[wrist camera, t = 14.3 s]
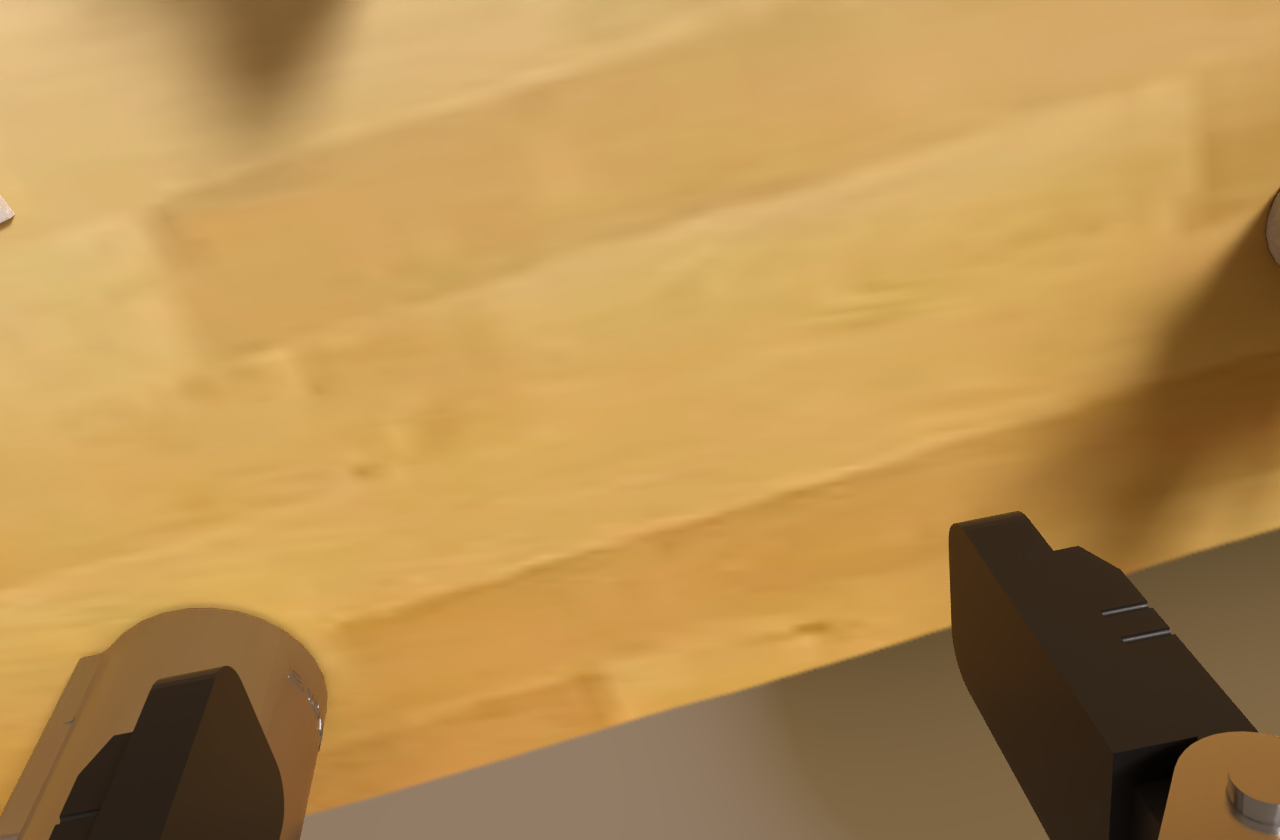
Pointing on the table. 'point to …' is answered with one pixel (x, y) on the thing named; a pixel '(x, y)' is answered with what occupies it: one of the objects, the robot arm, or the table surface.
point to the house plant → (1274, 229)
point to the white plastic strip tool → (5, 211)
